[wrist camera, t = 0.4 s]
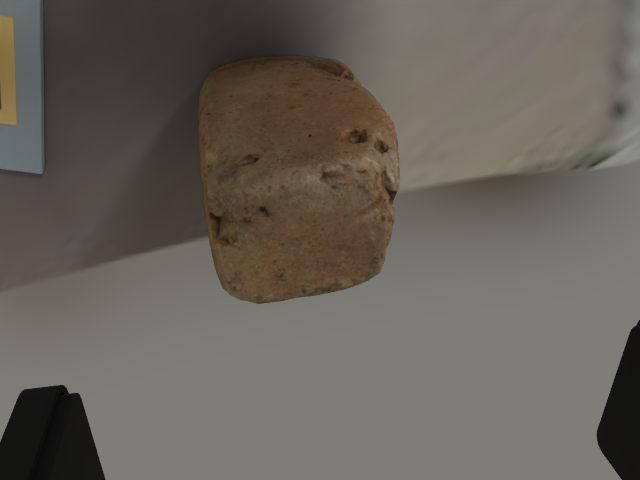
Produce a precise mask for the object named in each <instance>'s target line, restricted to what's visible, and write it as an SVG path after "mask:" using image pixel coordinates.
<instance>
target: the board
mask: <svg viewBox="0 0 640 480" xmlns="http://www.w3.org/2000/svg"><path fill="white" fill-rule="evenodd" d="M0 169H6V170H13V171H21V172H29V173H37V174H42V173H43V172H44V170H45V152H44V43H43V0H0Z"/></svg>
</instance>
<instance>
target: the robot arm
mask: <svg viewBox="0 0 640 480" xmlns="http://www.w3.org/2000/svg"><path fill="white" fill-rule="evenodd" d="M597 441H598V445H599V447H600V449H601V451H602V453H603V454H604V456H605V457H606V458H607V460H608V461H609V463H610V464H611V465H612V467H613V468H614V469H615V471H616V472H617V474H618V475H619V476H620V478H621V479H622V480H640V320H639V322H638V323H637V326H635V327H634V328H632V330H631V332H630V334H629V337H628V340H627V343H626V346H625V349H624V352H623V356H622V358H621V361H620V364H619V367H618V370H617V373H616V376H615V379H614V382H613V385H612V388H611V391H610V394H609V397H608V400H607V403H606V406H605V409H604V412H603V415H602V418H601V421H600V424H599V427H598V430H597ZM0 480H105V477H104V473H103V470H102V467H101V463H100V460H99V457H98V454H97V450H96V447H95V443H94V440H93V437H92V433H91V430H90V427H89V423H88V419H87V416H86V413H85V409H84V406H83V403H82V399H81V397H80V395H79V394H78V393H72V394H69V393H68V391H67V388H66V387H65V386H64V385H58V386H49V387H41V388H33V389H25V390H23V391H22V392H21V393H20V395H19V397H18V399H17V401H16V404H15V407H14V409H13V412H12V414H11V417H10V419H9V422H8V424H7V427H6V429H5V432H4V434H3V437H2V439H1V442H0Z"/></svg>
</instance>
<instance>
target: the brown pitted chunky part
mask: <svg viewBox="0 0 640 480" xmlns="http://www.w3.org/2000/svg"><path fill="white" fill-rule="evenodd" d="M198 125H199V156H200V172H201V180H202V187H203V196H204V206H205V215H206V223H207V229H208V235H209V241H210V246H211V251H212V256H213V261H214V265H215V268H216V272H217V275H218V277H219V280H220V282H221V285H222V287H223V289H225V291H227V292H228V293H229V294H230V295H231V296H233V297H236V298H238V299H240V300H244V301H250V302H254V303H257V304H261V303H270V302H278V301H284V300H289V299H292V298H297V297H306V296H315V295H320V294H324V293H330V292H335V291H339V290H344V289H347V288H350V287H353V286H356V285H359V284H361V283H363V282H365V281H368V280H369V279H371V278H373V277H374V276H375V275H377V274H379V273H380V271H381V269H382V266H383V263H384V260H385V252H386V248H387V246H388V244H389V242H390V238H391V233H392V227H393V223H394V207H393V206H392V204H393V200H394V197H395V195H396V193H397V191H398V189H399V181H400V174H399V154H398V141H397V135H396V132H395V128H394V123H393V122H392V120H391V119H390V117H389V116H388V115H387V113H386V112H385V110H384V108H383V107H382V106H381V105H380V103H379V102H378V101H377V100H376V99H375V98H374V96H373V95H372V94H371V93H369V92H368V91H367V90H366V89H365V88H363V87H362V86H361V84H360V82H359V80H358V79H357V78H356V76H355V75H354V74H353V73H352V71H351V70H350V69H349V68H348V67H347V66H346V65H344V64H343V63H341V62H339V61H337V60H334V59H324V58H318V57H309V56H266V57H257V58H250V59H244V60H239V61H236V62H232V63H229V64H225V65H223V66H220V67H218V68H216V69H214V70H213V71H211V72H210V73H209V74H208V76H207V77H206V79H205V81H204V83H203V85H202V88H201V91H200V95H199V101H198Z"/></svg>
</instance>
